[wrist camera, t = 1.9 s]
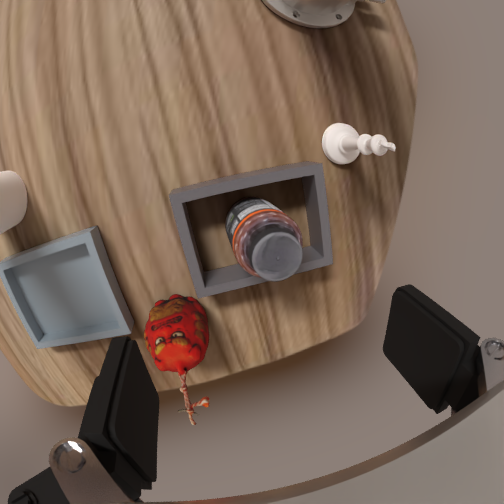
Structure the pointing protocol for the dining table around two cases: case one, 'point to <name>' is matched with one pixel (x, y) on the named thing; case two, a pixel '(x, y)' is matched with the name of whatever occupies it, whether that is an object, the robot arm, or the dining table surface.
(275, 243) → the supplement bottle
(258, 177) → the dock
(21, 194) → the cylindrical container
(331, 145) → the chess piece
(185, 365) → the red clay folk toy
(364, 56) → the dining table surface
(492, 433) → the robot arm
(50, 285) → the tray
